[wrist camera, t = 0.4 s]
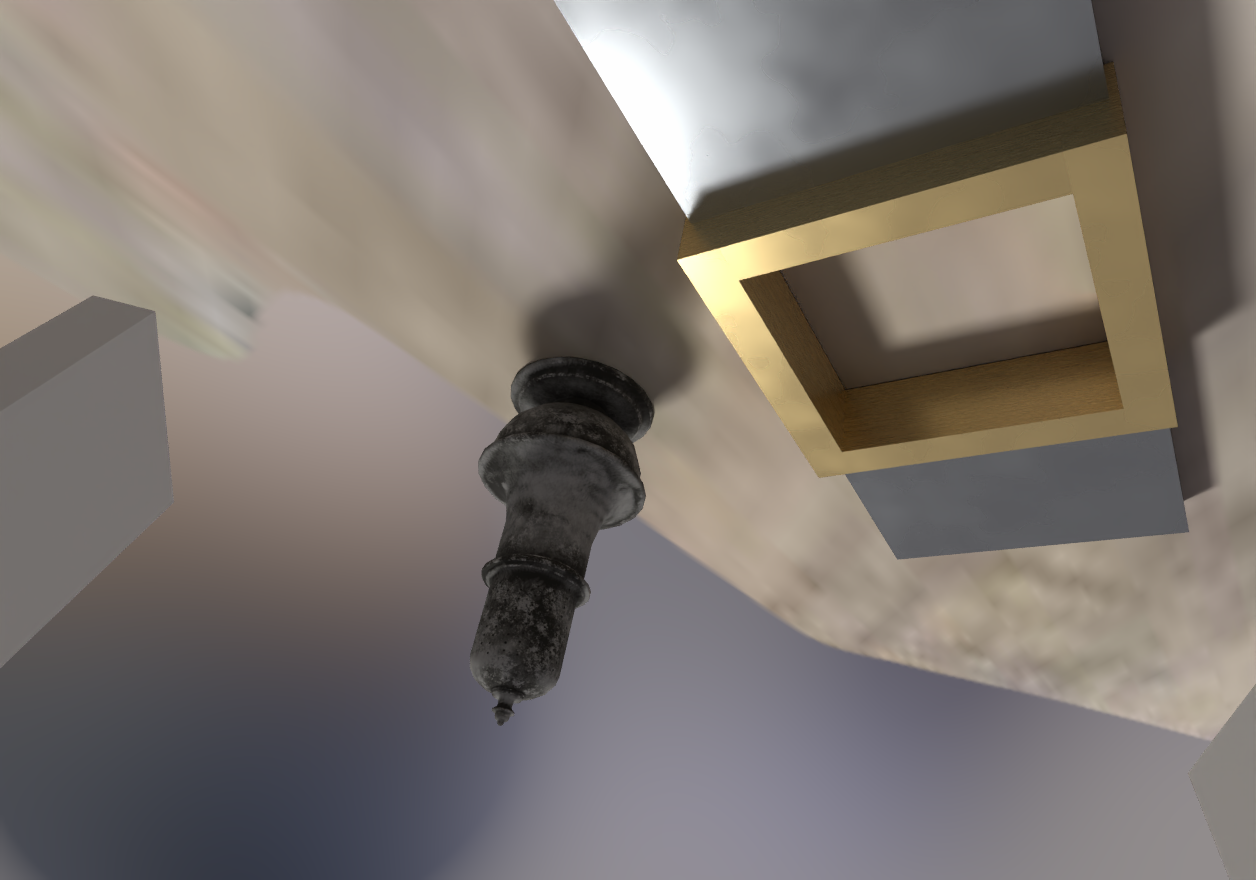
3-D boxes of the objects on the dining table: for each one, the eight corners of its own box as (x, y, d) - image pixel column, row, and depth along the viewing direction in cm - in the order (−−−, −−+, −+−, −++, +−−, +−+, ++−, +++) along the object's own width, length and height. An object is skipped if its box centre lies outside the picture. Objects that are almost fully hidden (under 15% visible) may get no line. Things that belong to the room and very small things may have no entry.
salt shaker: (694, 420, 34) (638, 749, 28) (587, 466, 38) (514, 766, 32) (575, 328, 31) (480, 673, 25) (472, 389, 35) (365, 701, 29)
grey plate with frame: (527, -77, 21) (498, -15, 19) (1041, -347, 16) (1053, -289, 14) (893, 533, 38) (891, 589, 37) (1190, 501, 33) (1201, 565, 32)
